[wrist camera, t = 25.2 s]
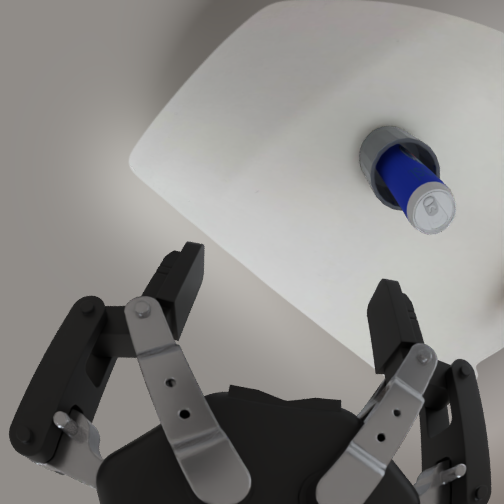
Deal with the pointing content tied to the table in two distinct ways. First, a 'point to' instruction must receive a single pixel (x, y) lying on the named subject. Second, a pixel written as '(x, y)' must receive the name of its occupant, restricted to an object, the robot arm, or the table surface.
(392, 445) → the robot arm
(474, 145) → the table surface
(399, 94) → the table surface
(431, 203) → the beverage can
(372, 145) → the grey pen holder cup
